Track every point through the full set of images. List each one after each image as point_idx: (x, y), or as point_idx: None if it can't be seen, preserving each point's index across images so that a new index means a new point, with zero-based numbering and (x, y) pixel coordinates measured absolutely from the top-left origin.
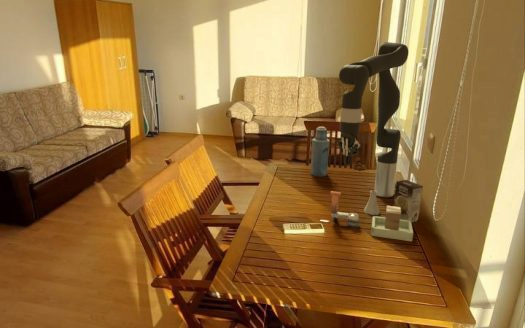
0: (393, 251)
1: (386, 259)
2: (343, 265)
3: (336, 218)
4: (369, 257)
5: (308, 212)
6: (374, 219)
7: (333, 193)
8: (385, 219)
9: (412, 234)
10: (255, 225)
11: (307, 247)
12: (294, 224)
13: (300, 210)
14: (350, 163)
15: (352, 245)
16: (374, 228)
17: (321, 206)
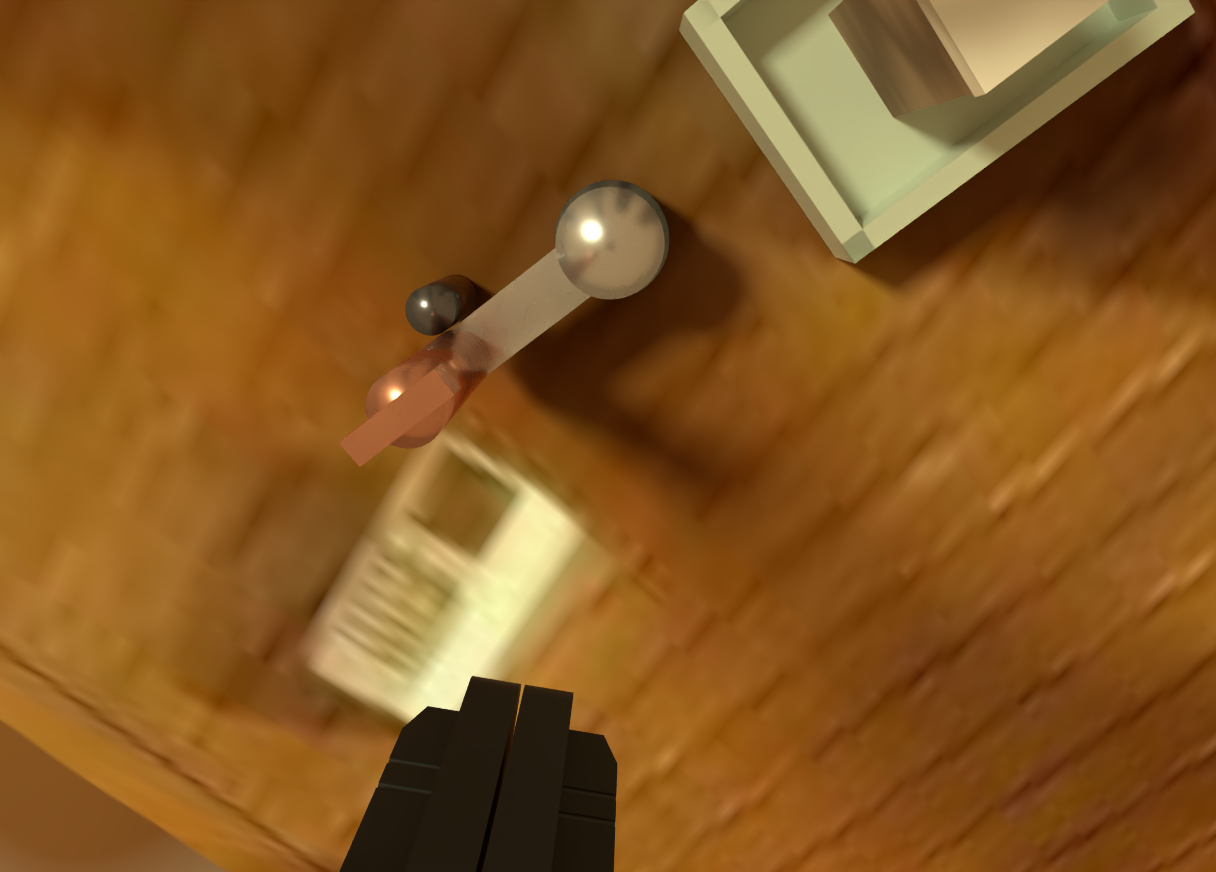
0: (1103, 324)
1: (1122, 460)
2: (967, 719)
3: (471, 308)
4: (1024, 531)
5: (206, 376)
6: (753, 77)
7: (392, 440)
8: (859, 9)
9: (1182, 17)
10: (253, 817)
11: (681, 744)
12: (359, 612)
13: (140, 406)
14: (606, 748)
15: (845, 502)
16: (874, 248)
17: (128, 167)
